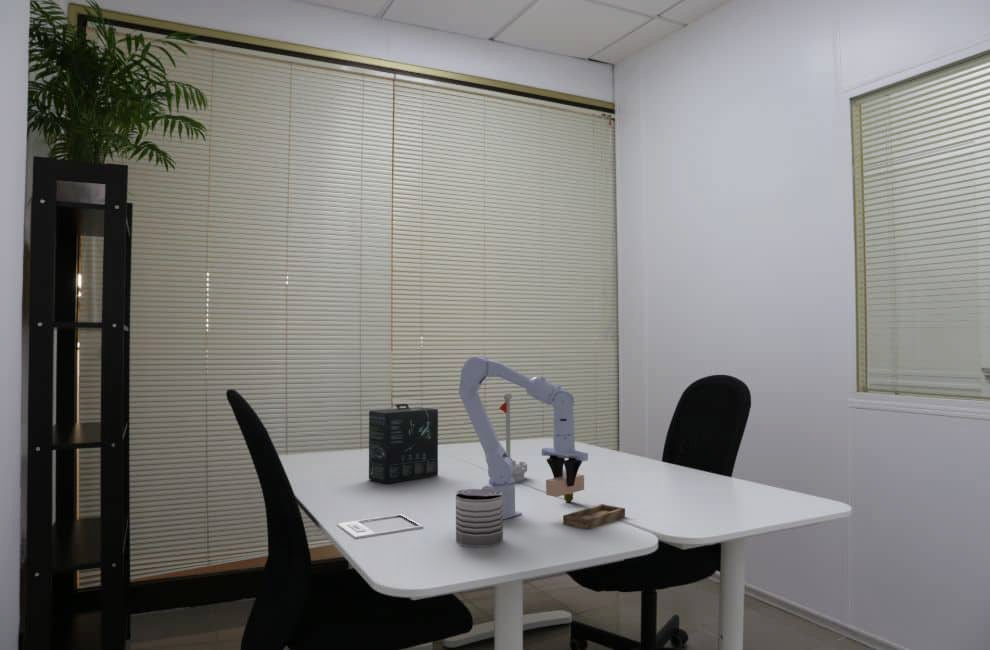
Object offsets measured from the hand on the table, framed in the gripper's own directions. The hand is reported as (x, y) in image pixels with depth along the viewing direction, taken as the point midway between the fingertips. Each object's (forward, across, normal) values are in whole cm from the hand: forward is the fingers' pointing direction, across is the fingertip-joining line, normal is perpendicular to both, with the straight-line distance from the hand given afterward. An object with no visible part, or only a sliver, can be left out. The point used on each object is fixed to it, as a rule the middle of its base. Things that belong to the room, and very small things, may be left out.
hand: (564, 484), depth 184 cm
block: (+2, 0, 0) cm, 2 cm away
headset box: (+8, +76, -4) cm, 76 cm away
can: (+9, +1, +31) cm, 33 cm away
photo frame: (+9, +29, +40) cm, 50 cm away
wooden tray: (+8, -8, -2) cm, 12 cm away
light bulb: (+9, +10, -14) cm, 19 cm away
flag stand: (+9, +47, -27) cm, 54 cm away
